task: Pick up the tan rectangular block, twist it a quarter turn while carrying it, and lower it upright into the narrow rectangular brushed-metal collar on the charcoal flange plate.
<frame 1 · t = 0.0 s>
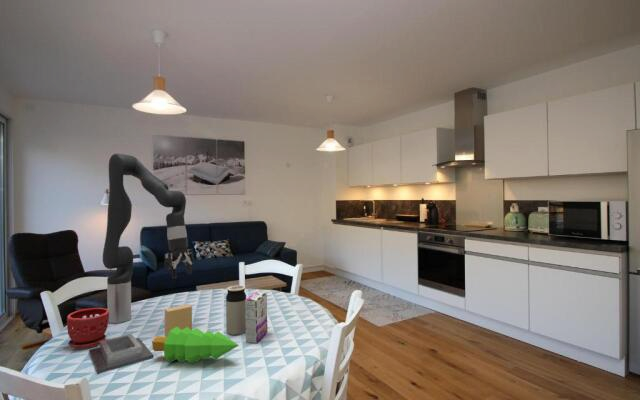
hand: (182, 276, 140), 22 cm above the table, tool pointing down, fingers open, 8 cm apart
travel mug: (236, 332, 137), on the table
decorative tree: (195, 362, 111), on the table
plant pot: (88, 344, 126), on the table
duct flange: (120, 355, 116), on the table
tan rectangular block: (178, 338, 130), on the table
candy bar box: (256, 338, 130), on the table
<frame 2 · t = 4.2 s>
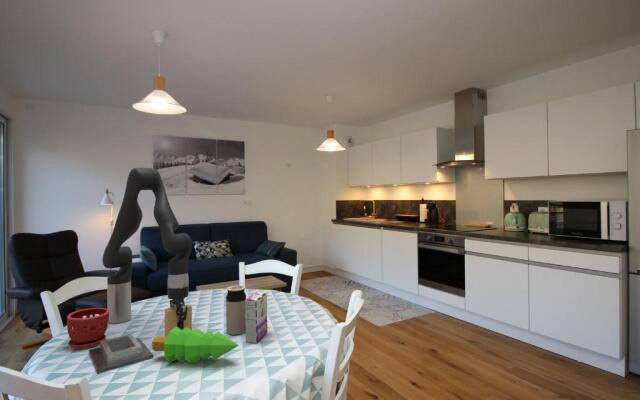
hand: (178, 328, 130), 4 cm above the table, tool pointing down, fingers closed on tan rectangular block, 4 cm apart
tan rectangular block: (178, 338, 130), on the table, touching gripper
everything else where it was.
when the fingers open (6 cm above the table, at t = 11.0 s): tan rectangular block drops 1 cm, resting on duct flange.
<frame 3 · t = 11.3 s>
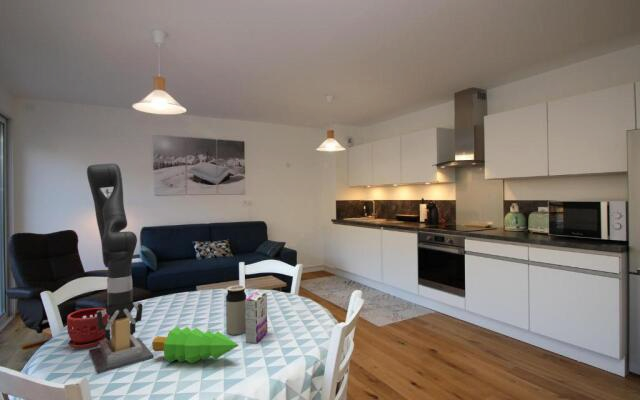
hand: (120, 336, 116), 6 cm above the table, tool pointing down, fingers open, 6 cm apart
tan rectangular block: (120, 352, 116), point 1 cm above the table, touching duct flange
everything else where it was.
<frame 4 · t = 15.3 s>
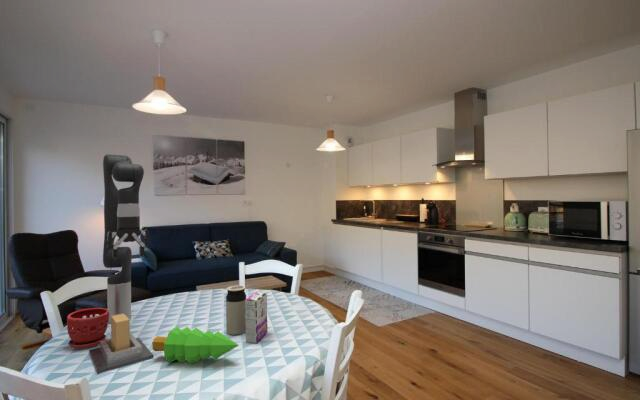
hand: (128, 257, 128), 32 cm above the table, tool pointing down, fingers open, 8 cm apart
nothing on the table moved.
at the end: tan rectangular block 0.0 cm off-centre on the duct flange, point 1.0 cm above the duct flange's base; tan rectangular block tilted 0°; the gripper is holding nothing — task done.
